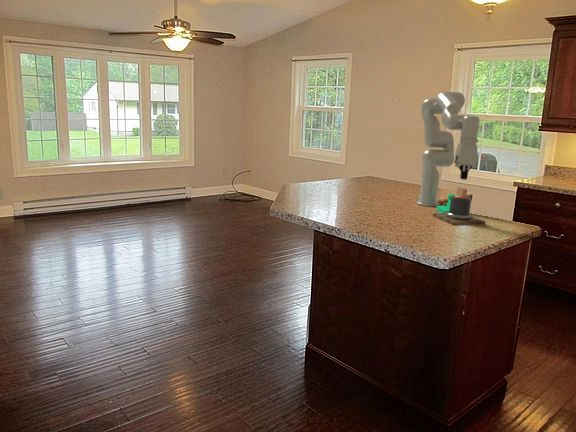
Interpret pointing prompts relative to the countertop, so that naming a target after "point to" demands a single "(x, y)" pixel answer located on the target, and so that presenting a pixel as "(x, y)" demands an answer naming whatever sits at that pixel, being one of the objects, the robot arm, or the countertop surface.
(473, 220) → the mount board
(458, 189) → the tan knob
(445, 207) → the camera mount
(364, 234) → the countertop surface
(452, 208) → the black hollow cylinder
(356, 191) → the countertop surface
